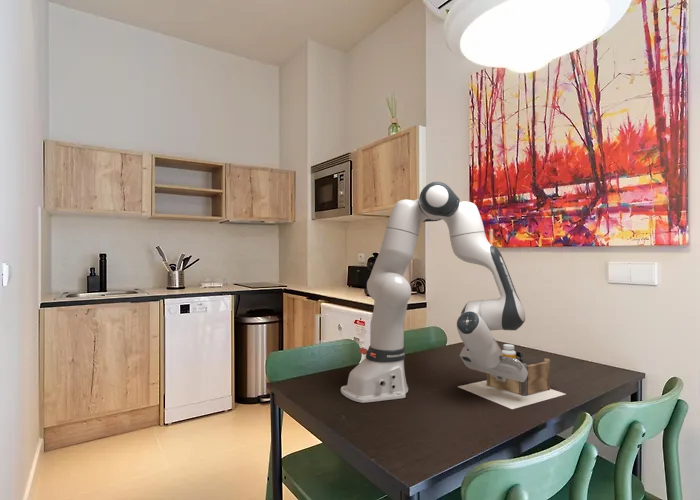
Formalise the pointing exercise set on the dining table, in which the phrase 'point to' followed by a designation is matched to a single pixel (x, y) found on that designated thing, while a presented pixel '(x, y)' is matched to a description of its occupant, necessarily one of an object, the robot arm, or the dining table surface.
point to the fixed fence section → (536, 378)
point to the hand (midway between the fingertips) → (502, 379)
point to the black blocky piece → (520, 354)
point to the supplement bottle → (509, 351)
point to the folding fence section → (504, 384)
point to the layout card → (509, 395)
